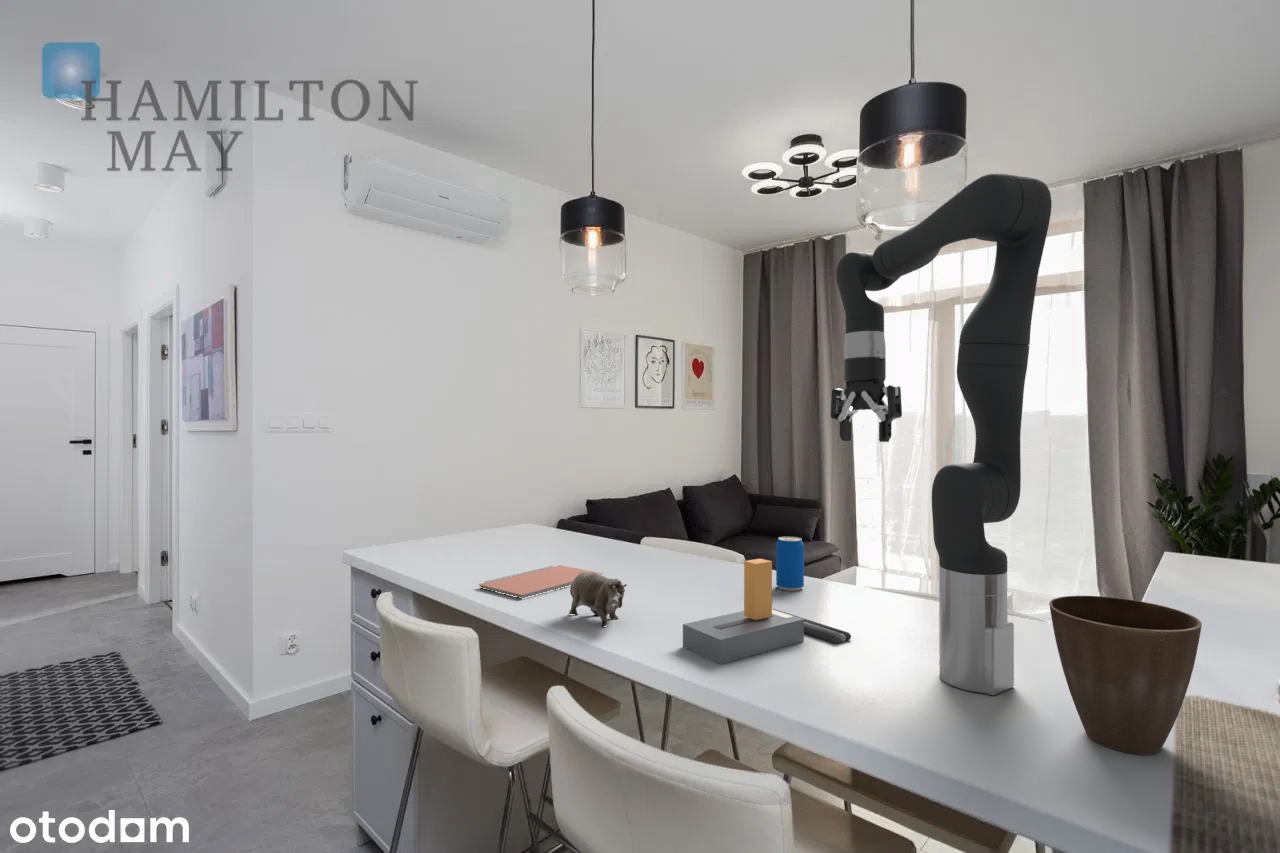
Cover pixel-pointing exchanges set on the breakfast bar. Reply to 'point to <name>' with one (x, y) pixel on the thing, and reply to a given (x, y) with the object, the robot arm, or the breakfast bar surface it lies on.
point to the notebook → (535, 581)
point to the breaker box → (741, 635)
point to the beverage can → (790, 563)
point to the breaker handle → (758, 589)
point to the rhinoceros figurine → (597, 594)
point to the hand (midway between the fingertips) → (864, 441)
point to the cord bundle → (824, 631)
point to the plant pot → (1125, 667)
